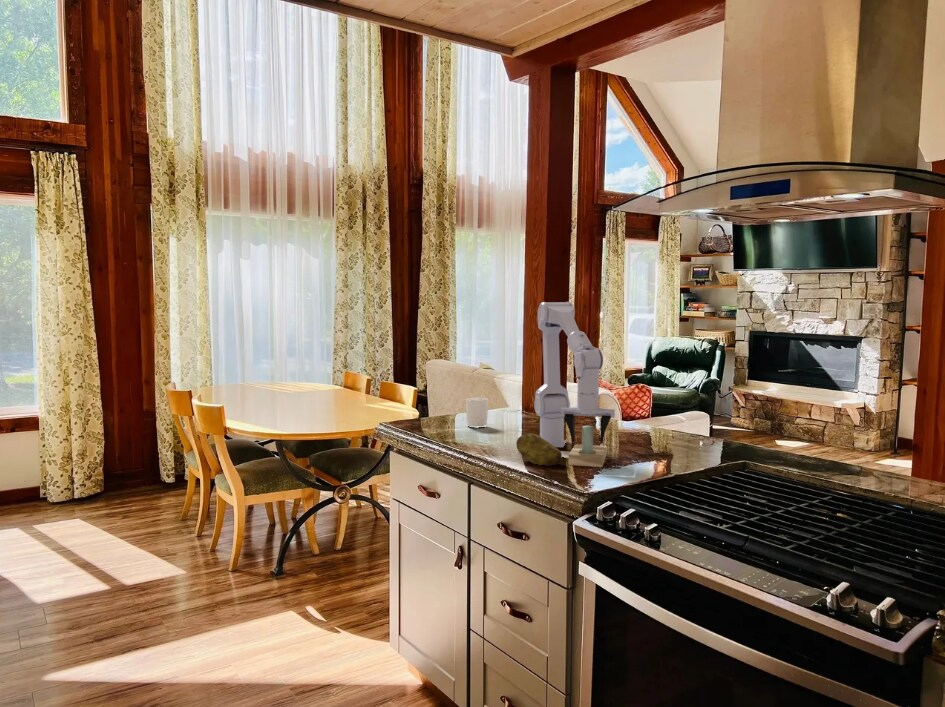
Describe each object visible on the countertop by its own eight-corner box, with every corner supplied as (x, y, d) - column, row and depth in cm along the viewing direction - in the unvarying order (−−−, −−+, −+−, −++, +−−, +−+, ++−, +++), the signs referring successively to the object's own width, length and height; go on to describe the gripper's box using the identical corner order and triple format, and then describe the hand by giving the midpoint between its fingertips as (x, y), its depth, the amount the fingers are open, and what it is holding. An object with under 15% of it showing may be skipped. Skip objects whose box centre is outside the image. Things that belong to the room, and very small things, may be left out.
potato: (542, 470, 187) (542, 440, 186) (511, 461, 197) (511, 433, 197) (565, 466, 192) (565, 436, 191) (534, 457, 202) (534, 429, 202)
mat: (556, 451, 209) (556, 450, 209) (574, 452, 208) (574, 451, 208) (552, 457, 202) (552, 456, 202) (571, 458, 200) (571, 457, 200)
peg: (581, 461, 198) (582, 425, 197) (592, 461, 197) (593, 425, 196) (581, 463, 195) (581, 427, 194) (592, 464, 194) (593, 427, 193)
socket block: (574, 454, 206) (574, 444, 205) (606, 456, 203) (606, 446, 203) (568, 465, 192) (568, 454, 192) (602, 467, 190) (602, 456, 190)
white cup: (463, 428, 248) (462, 399, 247) (469, 424, 255) (469, 396, 254) (484, 429, 245) (484, 400, 244) (490, 425, 253) (490, 397, 252)
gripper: (559, 394, 192) (559, 443, 193) (614, 396, 189) (613, 446, 190) (562, 390, 199) (562, 438, 200) (615, 392, 195) (614, 441, 196)
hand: (587, 442), depth 195 cm, fingers open, 7 cm apart
